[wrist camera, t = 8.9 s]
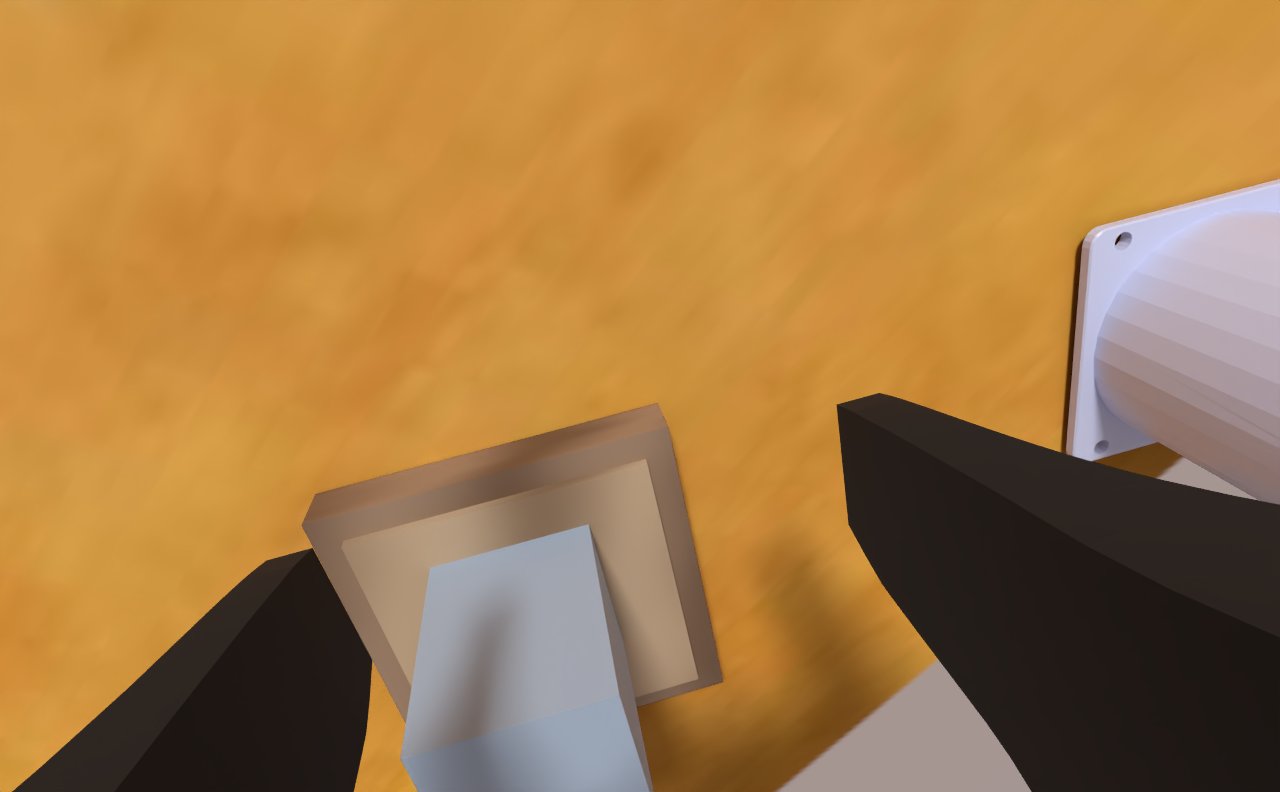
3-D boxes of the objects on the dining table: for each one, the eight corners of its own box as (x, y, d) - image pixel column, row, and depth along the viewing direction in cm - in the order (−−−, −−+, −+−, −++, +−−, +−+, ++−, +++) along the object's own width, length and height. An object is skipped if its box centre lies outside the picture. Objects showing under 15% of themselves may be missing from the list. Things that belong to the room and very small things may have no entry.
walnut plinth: (657, 403, 20) (670, 431, 19) (711, 649, 25) (725, 689, 23) (315, 494, 20) (298, 531, 18) (433, 729, 24) (428, 776, 23)
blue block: (588, 524, 20) (619, 695, 14) (623, 640, 22) (661, 828, 16) (430, 568, 19) (400, 759, 14) (479, 681, 21) (470, 886, 16)
